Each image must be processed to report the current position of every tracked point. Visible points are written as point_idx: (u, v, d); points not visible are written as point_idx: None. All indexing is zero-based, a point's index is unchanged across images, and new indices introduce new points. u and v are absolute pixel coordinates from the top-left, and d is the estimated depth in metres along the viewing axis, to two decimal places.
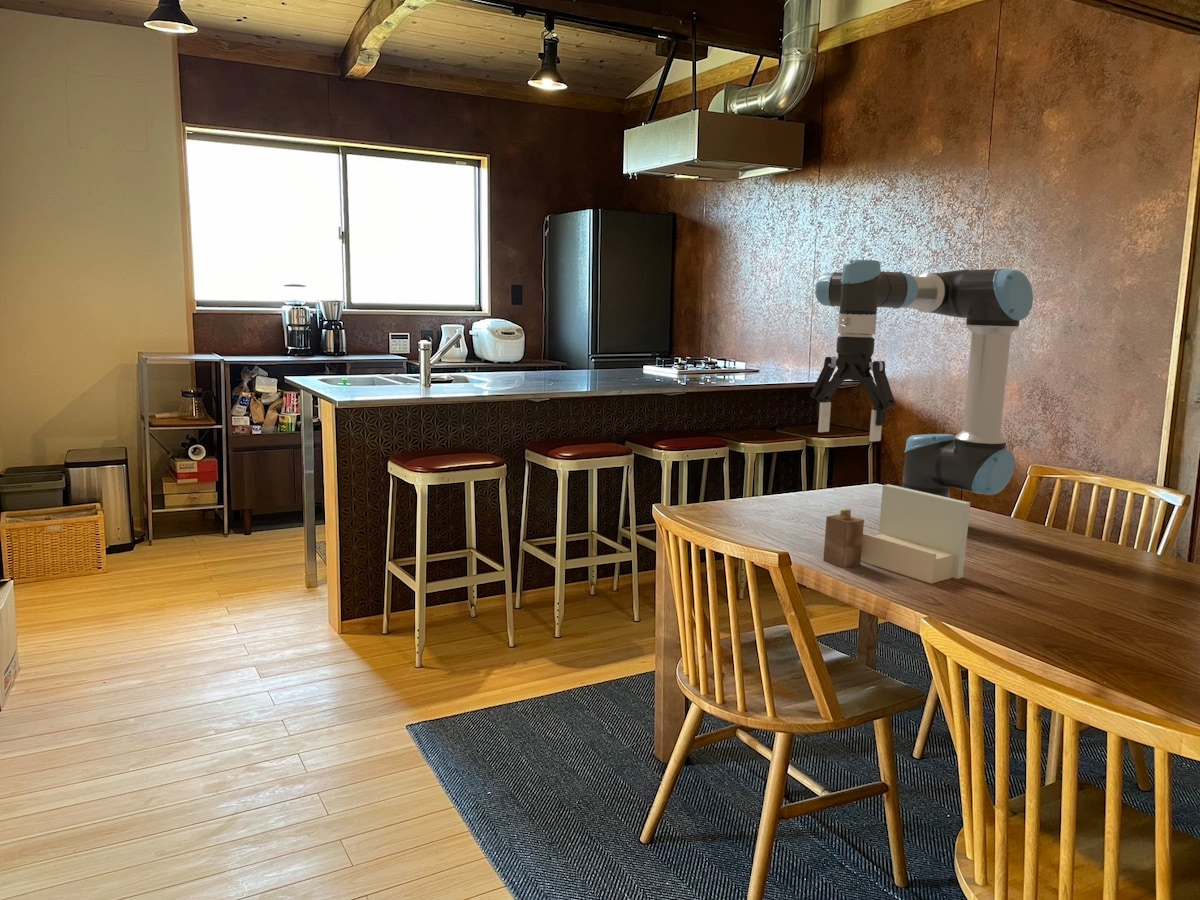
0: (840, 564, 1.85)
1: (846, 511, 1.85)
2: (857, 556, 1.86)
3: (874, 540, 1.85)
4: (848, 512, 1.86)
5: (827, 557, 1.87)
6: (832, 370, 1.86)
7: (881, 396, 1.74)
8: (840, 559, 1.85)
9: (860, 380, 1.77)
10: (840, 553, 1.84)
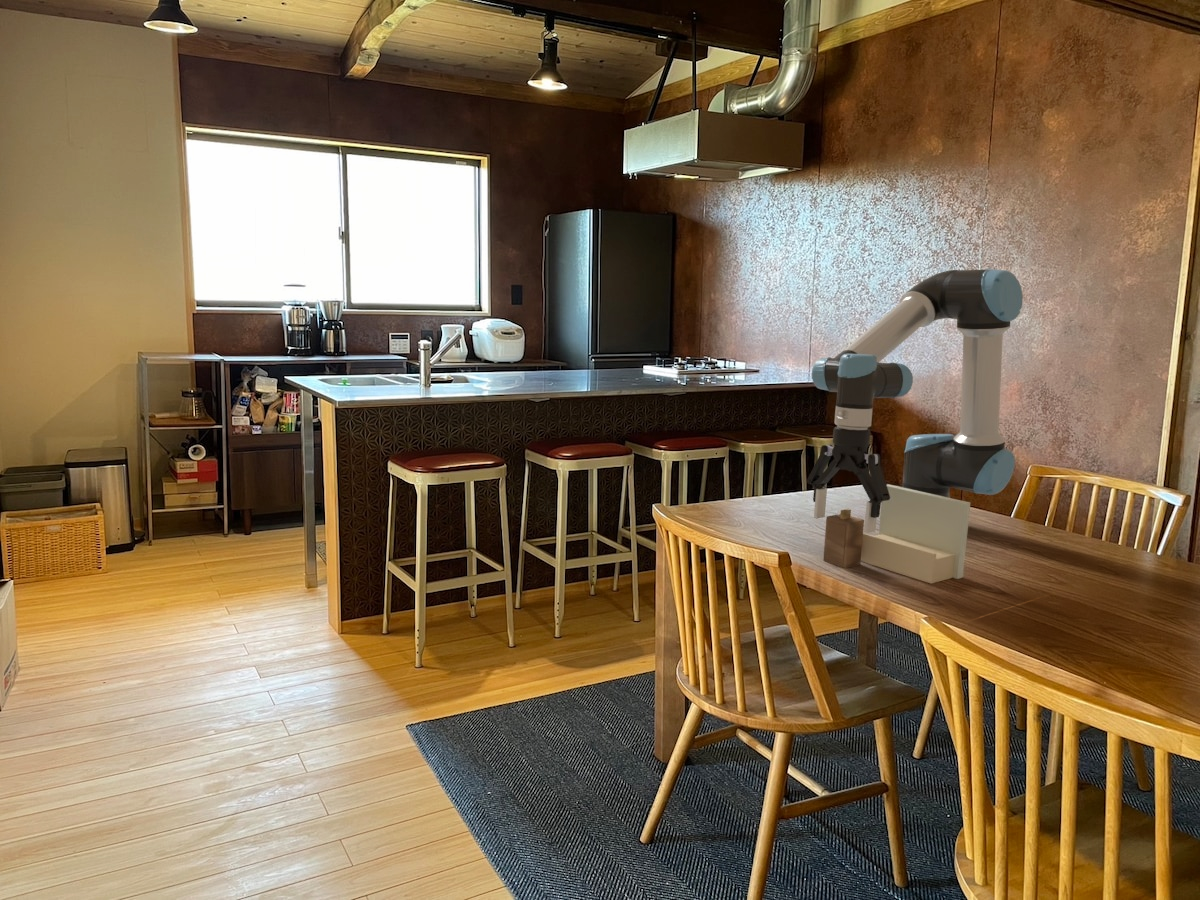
0: (840, 564, 1.85)
1: (846, 511, 1.85)
2: (857, 556, 1.86)
3: (874, 540, 1.85)
4: (848, 512, 1.86)
5: (827, 557, 1.87)
6: (828, 458, 1.89)
7: (876, 489, 1.77)
8: (840, 559, 1.85)
9: (856, 472, 1.80)
10: (840, 553, 1.84)
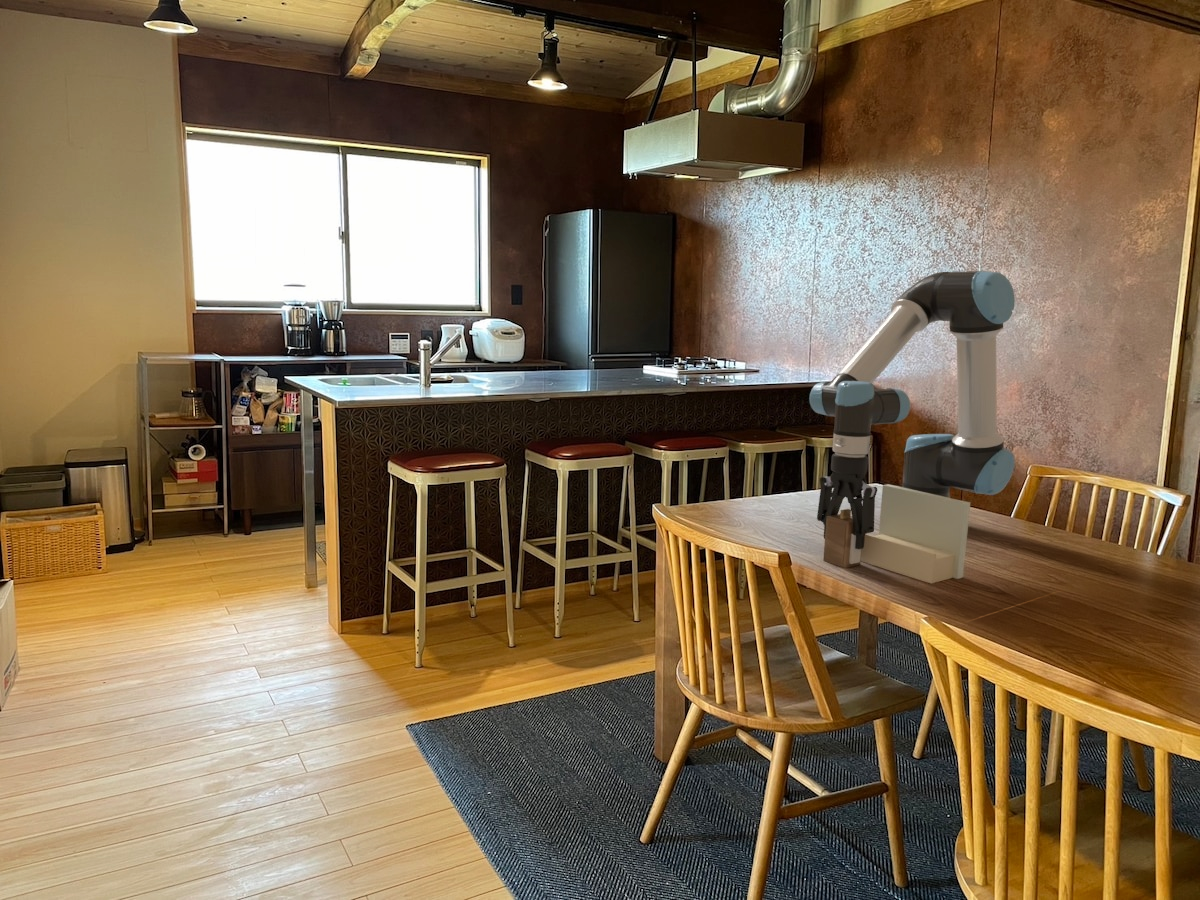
0: (840, 564, 1.85)
1: (846, 511, 1.85)
2: None
3: (874, 540, 1.85)
4: (848, 512, 1.86)
5: (827, 557, 1.87)
6: (830, 489, 1.89)
7: (863, 521, 1.80)
8: (840, 559, 1.84)
9: (849, 500, 1.82)
10: (840, 553, 1.84)
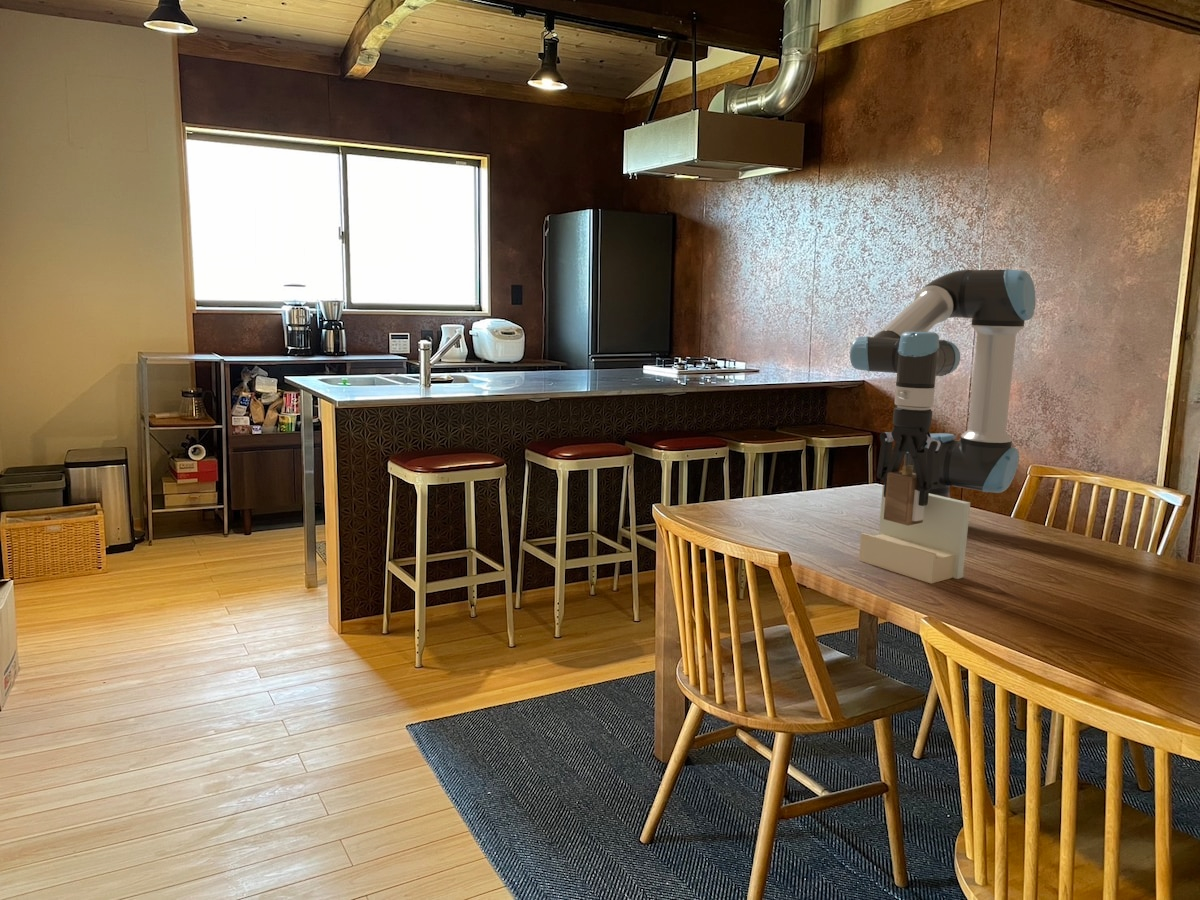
0: (903, 522, 1.78)
1: (908, 467, 1.79)
2: None
3: (874, 540, 1.85)
4: (911, 468, 1.79)
5: (888, 515, 1.81)
6: (890, 445, 1.83)
7: (928, 476, 1.74)
8: (902, 516, 1.78)
9: (913, 455, 1.76)
10: (903, 510, 1.78)
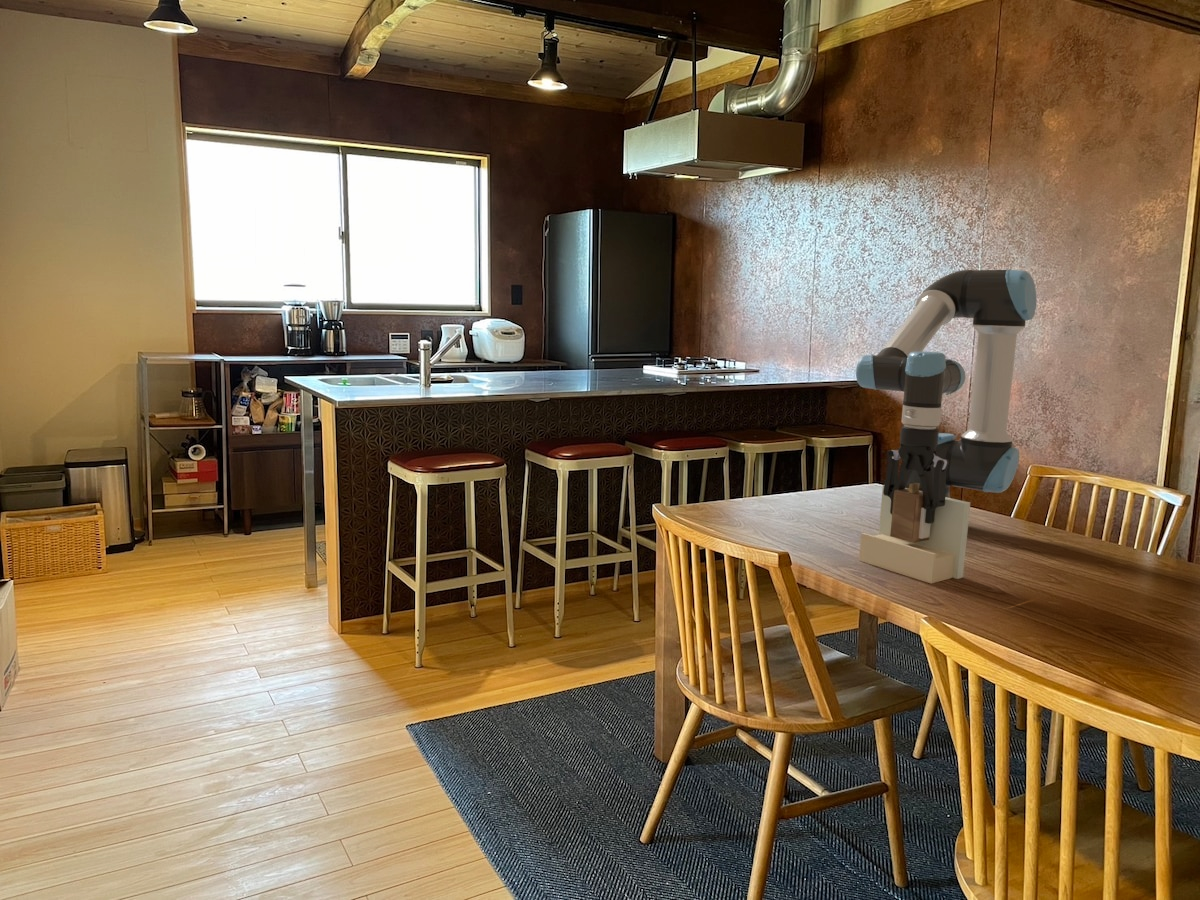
0: (909, 539, 1.80)
1: (915, 485, 1.81)
2: None
3: (874, 540, 1.85)
4: (917, 486, 1.81)
5: (895, 532, 1.83)
6: (897, 463, 1.85)
7: (934, 494, 1.76)
8: (908, 533, 1.80)
9: (919, 473, 1.78)
10: (909, 527, 1.80)
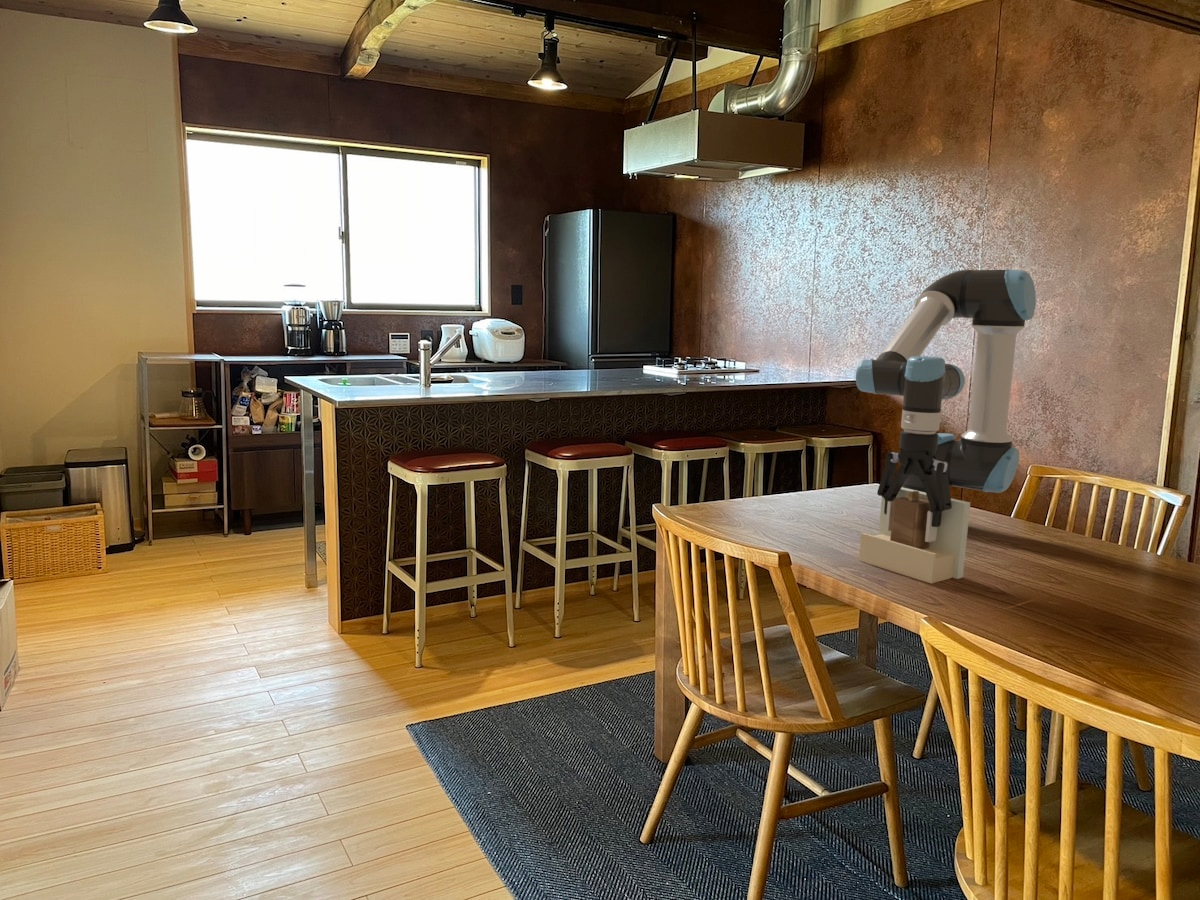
0: None
1: (914, 493, 1.81)
2: None
3: (874, 540, 1.85)
4: (917, 494, 1.82)
5: (894, 540, 1.83)
6: (895, 465, 1.86)
7: (939, 498, 1.75)
8: (908, 542, 1.81)
9: (921, 478, 1.78)
10: (909, 535, 1.80)
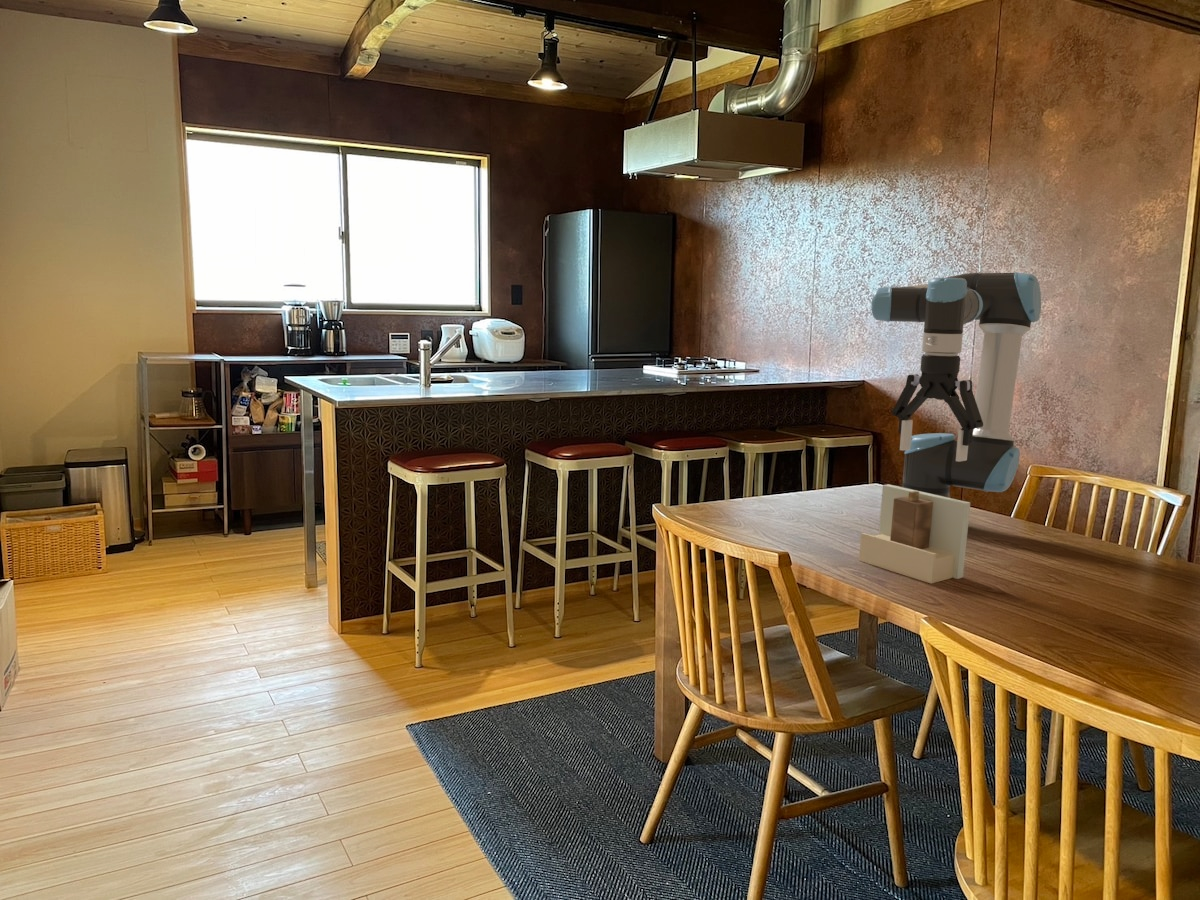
0: None
1: (914, 493, 1.81)
2: (926, 539, 1.82)
3: (874, 540, 1.85)
4: (917, 494, 1.82)
5: (894, 540, 1.83)
6: (914, 388, 1.84)
7: (969, 416, 1.72)
8: (908, 542, 1.81)
9: (946, 399, 1.75)
10: (909, 535, 1.80)
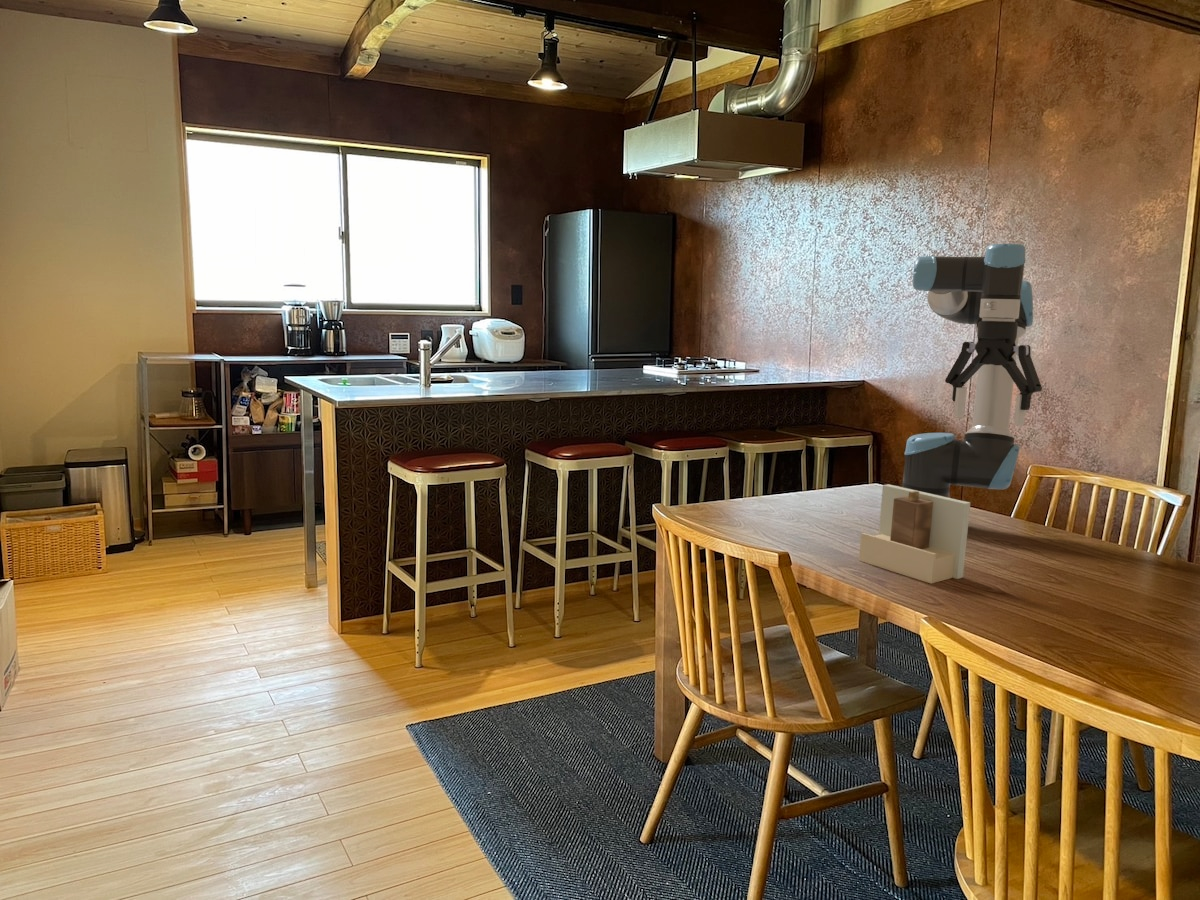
0: None
1: (914, 493, 1.81)
2: (926, 539, 1.82)
3: (874, 540, 1.85)
4: (917, 494, 1.82)
5: (894, 540, 1.83)
6: (969, 355, 1.86)
7: (1028, 380, 1.74)
8: (908, 542, 1.81)
9: (1004, 364, 1.77)
10: (909, 535, 1.80)
